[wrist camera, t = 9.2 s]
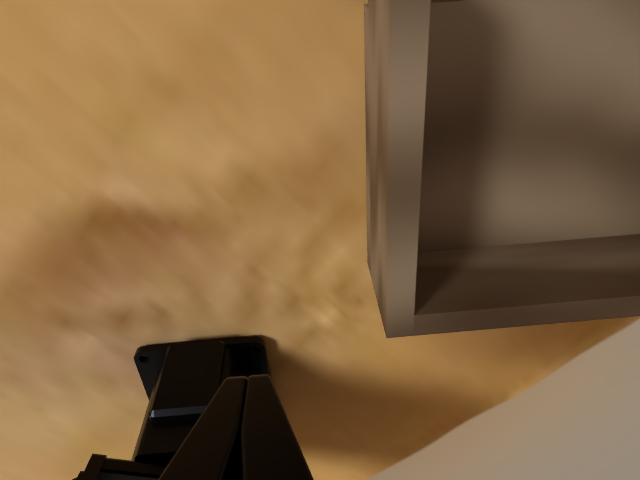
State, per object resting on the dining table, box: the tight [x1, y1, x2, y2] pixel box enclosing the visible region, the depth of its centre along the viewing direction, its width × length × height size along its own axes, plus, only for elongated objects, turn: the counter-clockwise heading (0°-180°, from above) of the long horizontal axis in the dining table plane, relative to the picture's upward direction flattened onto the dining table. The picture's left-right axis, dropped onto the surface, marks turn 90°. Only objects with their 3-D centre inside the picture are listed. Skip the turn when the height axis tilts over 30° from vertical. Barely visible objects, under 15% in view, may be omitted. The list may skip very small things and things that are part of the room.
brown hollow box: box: [364, 0, 640, 338], centre depth 17 cm, size 12×13×5 cm
